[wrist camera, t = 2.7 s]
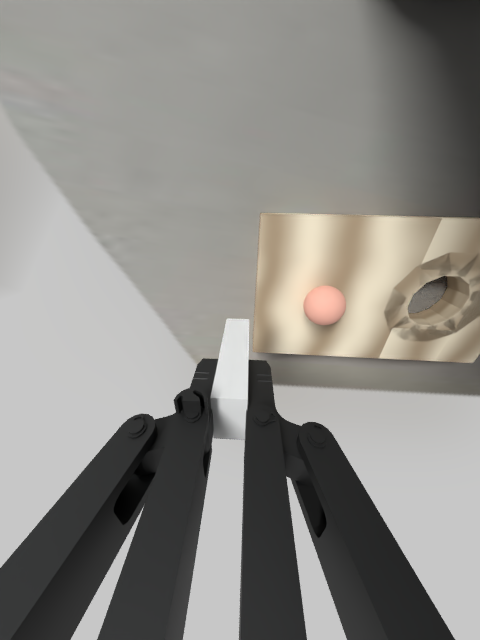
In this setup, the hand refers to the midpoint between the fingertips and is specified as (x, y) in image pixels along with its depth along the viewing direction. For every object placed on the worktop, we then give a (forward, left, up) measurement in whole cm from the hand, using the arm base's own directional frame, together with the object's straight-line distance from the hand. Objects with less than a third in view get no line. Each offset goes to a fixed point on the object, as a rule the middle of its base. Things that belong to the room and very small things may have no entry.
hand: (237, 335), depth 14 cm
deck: (-10, +9, -9) cm, 16 cm away
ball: (-5, +5, -5) cm, 9 cm away
